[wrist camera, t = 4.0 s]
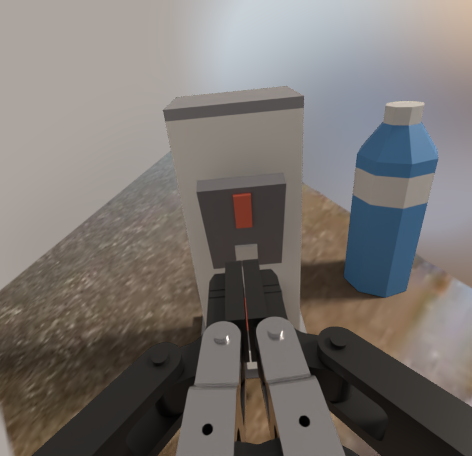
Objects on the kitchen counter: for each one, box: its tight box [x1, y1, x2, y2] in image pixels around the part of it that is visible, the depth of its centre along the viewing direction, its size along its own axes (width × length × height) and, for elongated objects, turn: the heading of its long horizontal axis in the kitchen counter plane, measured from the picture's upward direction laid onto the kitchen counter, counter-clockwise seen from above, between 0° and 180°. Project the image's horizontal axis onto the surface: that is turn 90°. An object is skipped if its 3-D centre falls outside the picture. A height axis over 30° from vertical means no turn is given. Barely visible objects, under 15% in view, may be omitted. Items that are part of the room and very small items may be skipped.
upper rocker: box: [196, 172, 286, 269], centre depth 24 cm, size 2×6×9 cm, turn 92°
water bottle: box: [344, 101, 438, 298], centre depth 41 cm, size 9×9×25 cm
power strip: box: [163, 86, 307, 336], centre depth 32 cm, size 10×13×29 cm
